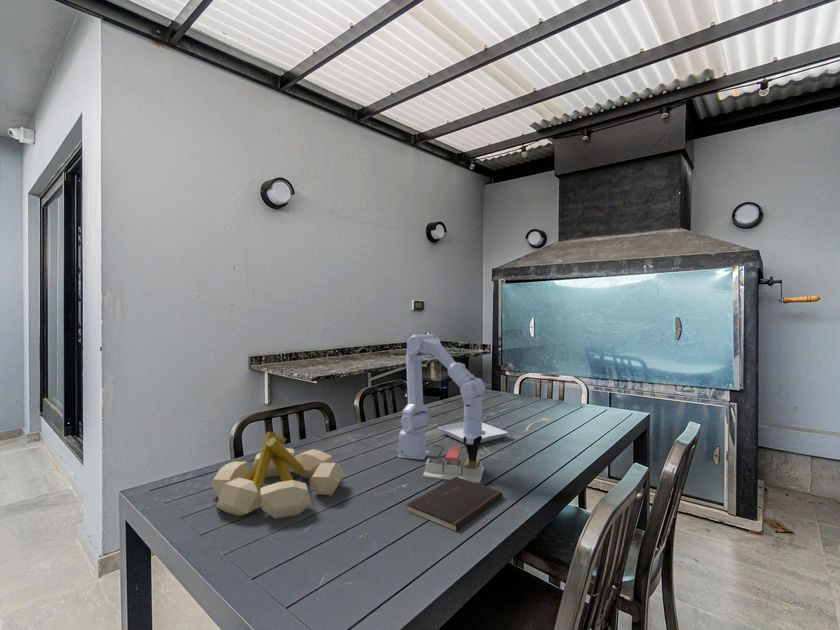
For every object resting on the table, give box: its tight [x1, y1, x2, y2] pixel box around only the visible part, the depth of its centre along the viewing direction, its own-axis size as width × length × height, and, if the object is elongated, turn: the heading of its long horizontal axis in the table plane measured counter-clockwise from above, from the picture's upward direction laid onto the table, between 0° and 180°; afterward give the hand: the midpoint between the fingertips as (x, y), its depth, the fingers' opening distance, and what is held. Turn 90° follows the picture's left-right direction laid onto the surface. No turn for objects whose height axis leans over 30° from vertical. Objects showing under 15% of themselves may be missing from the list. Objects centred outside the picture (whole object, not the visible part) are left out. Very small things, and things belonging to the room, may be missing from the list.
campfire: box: [210, 431, 345, 520], centre depth 121 cm, size 35×34×17 cm
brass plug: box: [465, 453, 481, 469], centre depth 133 cm, size 4×10×4 cm, turn 165°
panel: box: [422, 457, 485, 484], centre depth 135 cm, size 18×11×3 cm, turn 76°
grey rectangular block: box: [426, 444, 445, 464], centre depth 136 cm, size 4×10×4 cm, turn 166°
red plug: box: [445, 446, 463, 465], centre depth 135 cm, size 4×10×4 cm, turn 166°
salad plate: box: [437, 421, 509, 444], centre depth 172 cm, size 21×21×3 cm
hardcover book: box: [406, 477, 504, 533], centre depth 114 cm, size 16×23×2 cm
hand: (472, 459), depth 133 cm, fingers closed, pressing on brass plug
